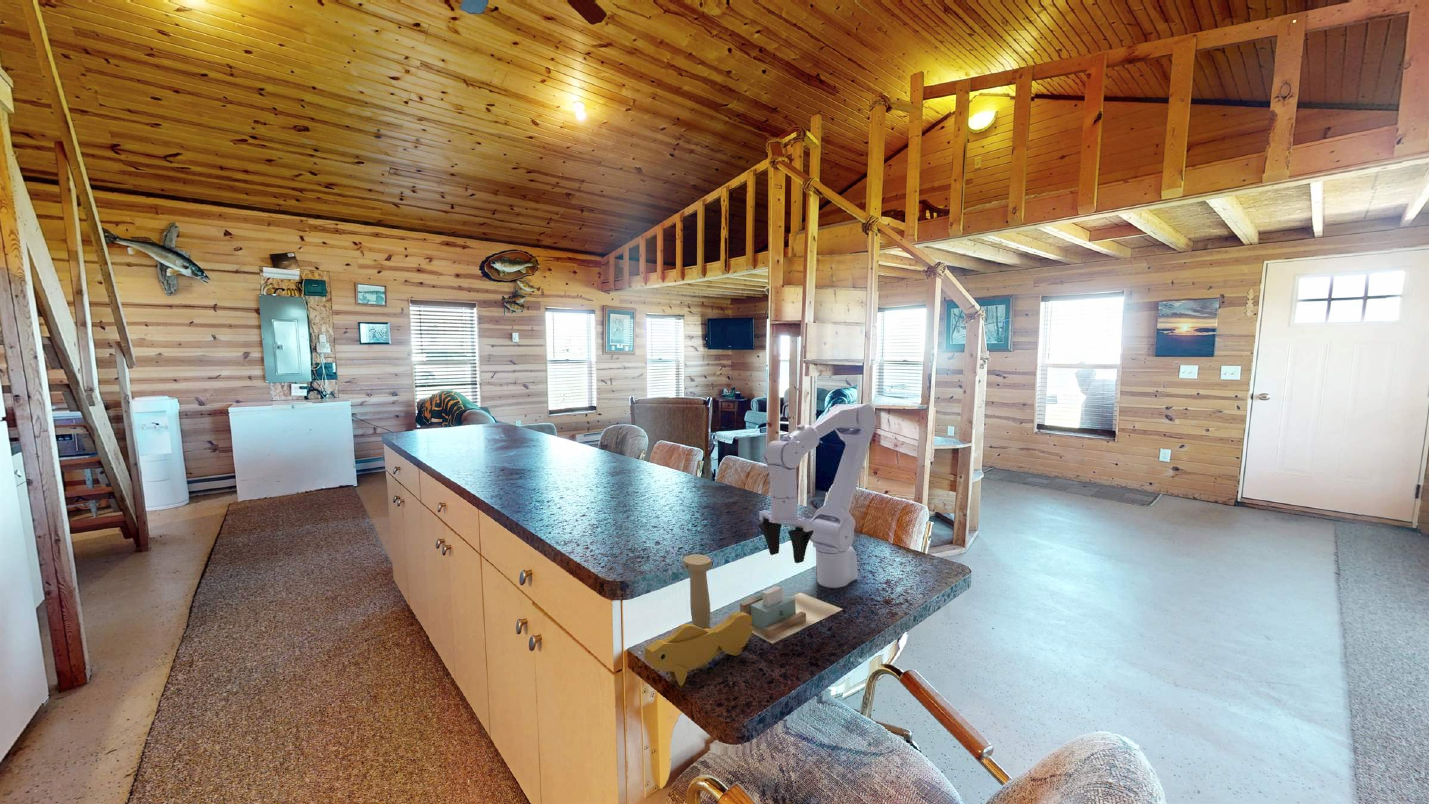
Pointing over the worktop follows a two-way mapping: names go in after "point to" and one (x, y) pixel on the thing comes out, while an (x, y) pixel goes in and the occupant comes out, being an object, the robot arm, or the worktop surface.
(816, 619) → the cleat board
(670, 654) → the decorative fish
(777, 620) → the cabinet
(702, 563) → the handle
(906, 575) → the worktop surface
